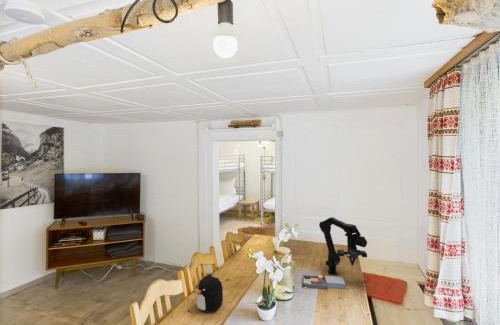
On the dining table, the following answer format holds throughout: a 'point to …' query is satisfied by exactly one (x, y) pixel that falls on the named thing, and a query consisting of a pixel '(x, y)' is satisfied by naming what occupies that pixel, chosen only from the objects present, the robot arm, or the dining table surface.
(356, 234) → the robot arm
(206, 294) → the penguin
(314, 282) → the tile
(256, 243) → the dining table surface
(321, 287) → the tray
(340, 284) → the light grey slab
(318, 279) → the tile
